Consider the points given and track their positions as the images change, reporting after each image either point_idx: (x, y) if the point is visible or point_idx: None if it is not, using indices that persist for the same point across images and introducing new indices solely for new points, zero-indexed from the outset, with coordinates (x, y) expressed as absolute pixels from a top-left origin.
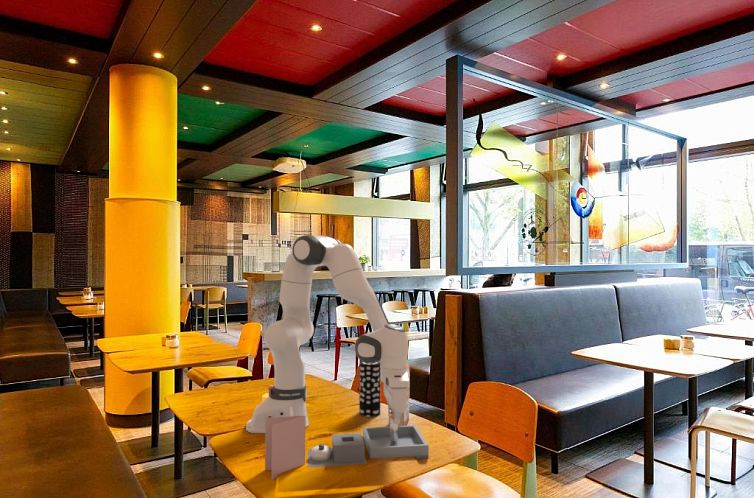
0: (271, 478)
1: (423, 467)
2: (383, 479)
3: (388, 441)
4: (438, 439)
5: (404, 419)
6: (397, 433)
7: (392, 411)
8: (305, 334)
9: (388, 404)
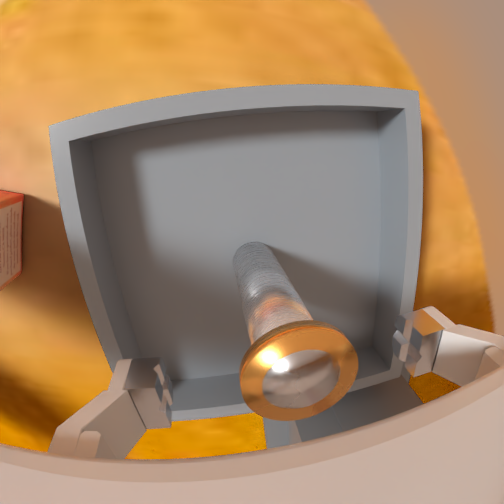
0: None
1: (450, 146)
2: (483, 292)
3: (195, 288)
4: (127, 4)
5: None
6: (276, 269)
7: (158, 383)
8: None
9: (123, 455)
